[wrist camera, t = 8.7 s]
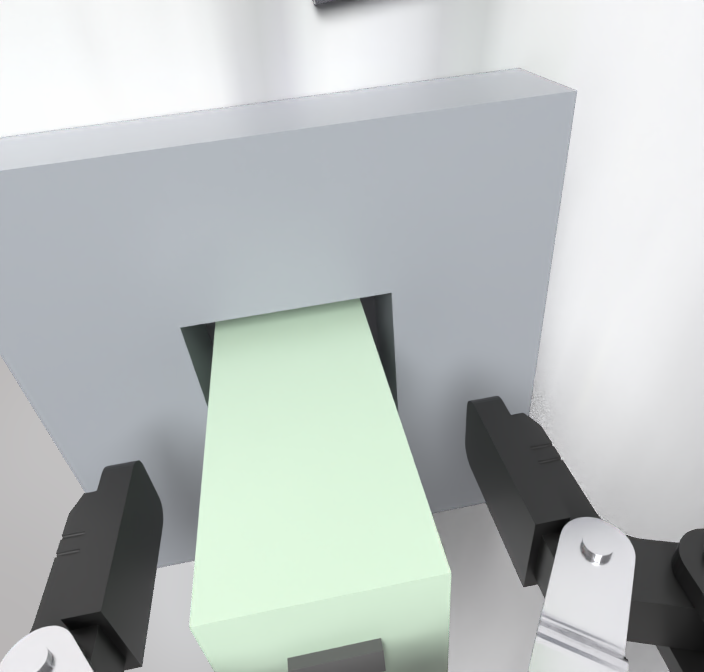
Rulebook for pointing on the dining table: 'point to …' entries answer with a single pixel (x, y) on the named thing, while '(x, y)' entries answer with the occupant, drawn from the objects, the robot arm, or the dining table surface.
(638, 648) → the dining table surface
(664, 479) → the dining table surface
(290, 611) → the block
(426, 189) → the plate
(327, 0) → the panel
